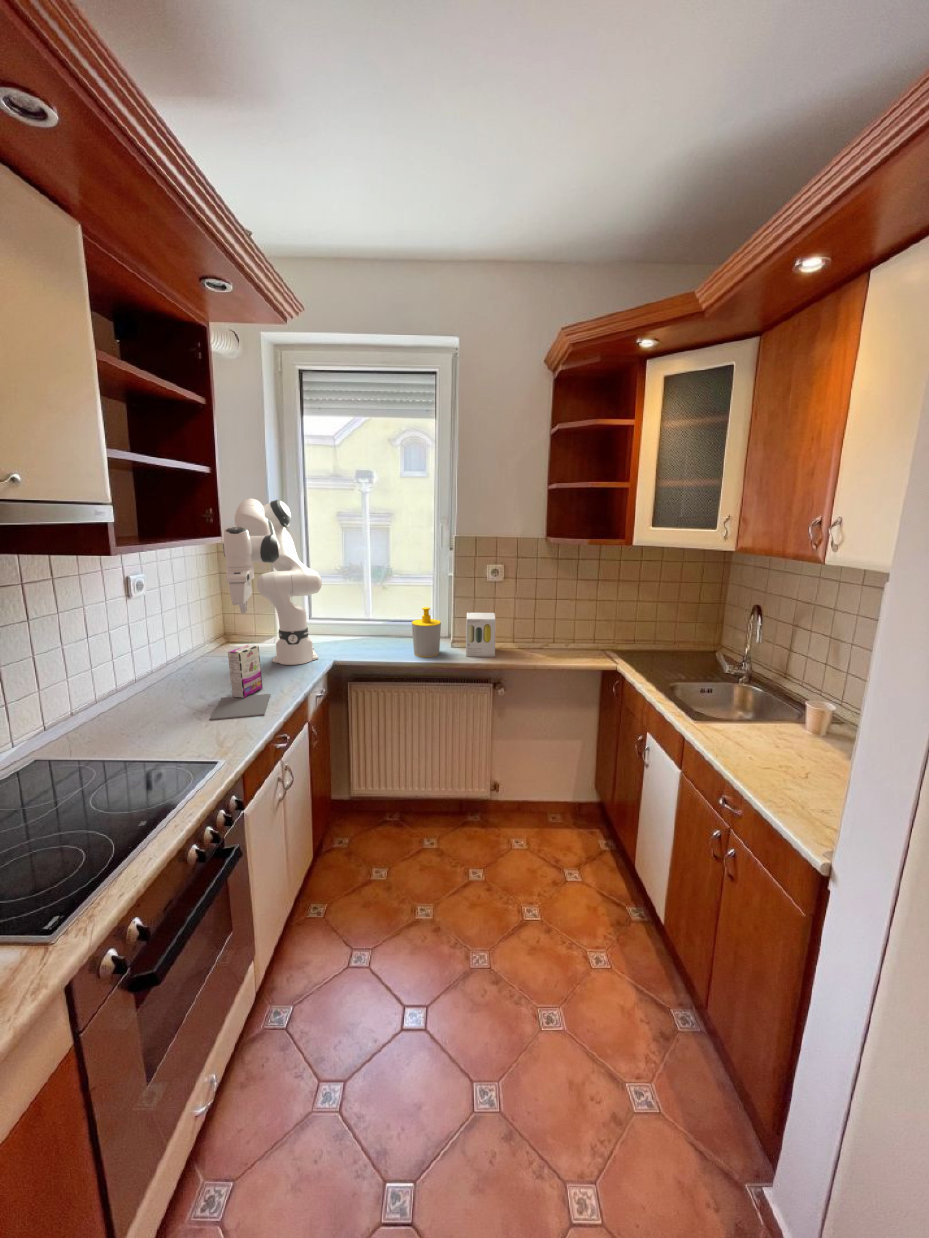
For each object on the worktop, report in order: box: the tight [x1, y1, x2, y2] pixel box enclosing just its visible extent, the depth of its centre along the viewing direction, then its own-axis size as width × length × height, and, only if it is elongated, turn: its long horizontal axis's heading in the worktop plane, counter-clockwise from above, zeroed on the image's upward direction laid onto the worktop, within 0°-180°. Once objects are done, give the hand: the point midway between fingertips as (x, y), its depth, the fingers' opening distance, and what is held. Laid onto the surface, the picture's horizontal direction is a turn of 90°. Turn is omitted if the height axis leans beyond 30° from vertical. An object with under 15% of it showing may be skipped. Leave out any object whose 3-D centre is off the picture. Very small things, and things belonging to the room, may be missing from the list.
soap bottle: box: [411, 606, 442, 658], centre depth 226 cm, size 13×13×21 cm
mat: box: [209, 693, 271, 721], centre depth 167 cm, size 18×16×1 cm
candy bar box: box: [227, 644, 263, 698], centre depth 177 cm, size 11×5×16 cm, turn 168°
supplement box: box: [465, 612, 496, 658], centre depth 228 cm, size 13×13×18 cm
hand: (244, 612), depth 180 cm, fingers closed
